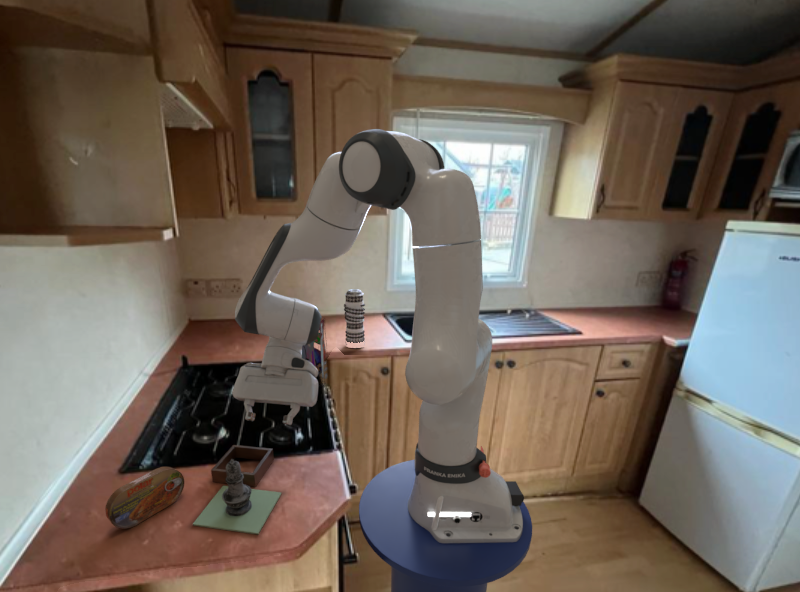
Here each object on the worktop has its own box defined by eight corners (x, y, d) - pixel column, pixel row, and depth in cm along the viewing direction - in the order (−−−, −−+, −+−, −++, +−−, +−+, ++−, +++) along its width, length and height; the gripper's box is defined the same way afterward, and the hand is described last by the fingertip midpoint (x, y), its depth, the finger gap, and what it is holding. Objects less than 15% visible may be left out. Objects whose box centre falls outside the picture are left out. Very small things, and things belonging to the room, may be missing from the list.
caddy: (274, 459, 103) (272, 448, 101) (255, 486, 93) (254, 475, 92) (234, 455, 104) (233, 444, 103) (212, 481, 95) (210, 470, 94)
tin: (115, 537, 79) (105, 502, 76) (108, 530, 81) (98, 495, 78) (188, 495, 90) (181, 463, 87) (180, 489, 92) (174, 457, 89)
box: (258, 380, 148) (251, 315, 139) (267, 374, 153) (260, 310, 145) (322, 389, 141) (318, 320, 132) (329, 381, 146) (326, 315, 138)
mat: (281, 493, 91) (281, 492, 90) (258, 534, 79) (258, 533, 79) (223, 486, 93) (223, 485, 93) (192, 525, 82) (192, 523, 82)
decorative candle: (358, 341, 189) (357, 287, 180) (369, 346, 182) (369, 290, 173) (341, 345, 184) (339, 289, 175) (352, 350, 177) (350, 293, 168)
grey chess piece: (255, 497, 89) (249, 449, 85) (250, 516, 84) (243, 467, 79) (228, 498, 89) (220, 451, 85) (220, 518, 83) (212, 468, 79)
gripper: (235, 357, 97) (220, 415, 92) (315, 362, 91) (303, 423, 87) (248, 366, 103) (235, 421, 98) (325, 371, 97) (314, 429, 92)
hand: (267, 422), depth 92 cm, fingers open, 8 cm apart
